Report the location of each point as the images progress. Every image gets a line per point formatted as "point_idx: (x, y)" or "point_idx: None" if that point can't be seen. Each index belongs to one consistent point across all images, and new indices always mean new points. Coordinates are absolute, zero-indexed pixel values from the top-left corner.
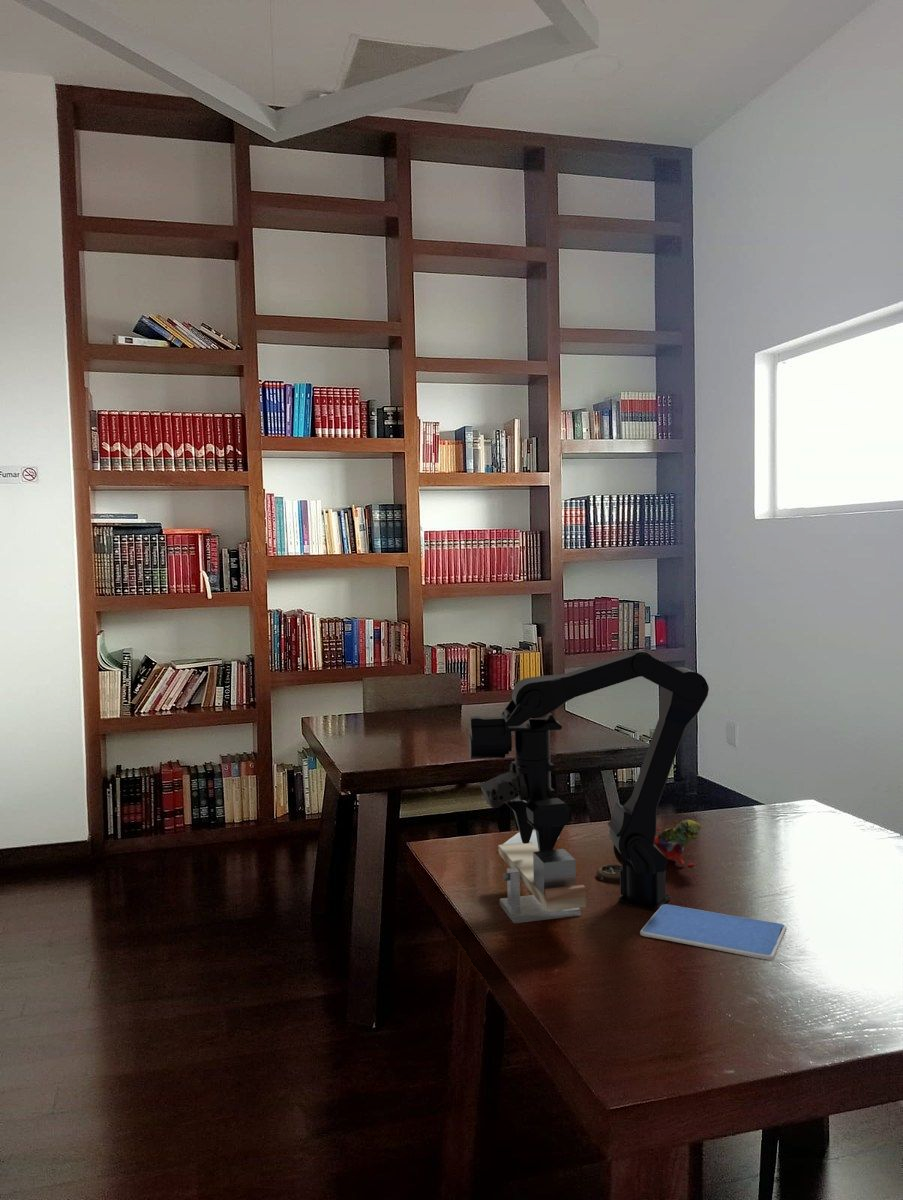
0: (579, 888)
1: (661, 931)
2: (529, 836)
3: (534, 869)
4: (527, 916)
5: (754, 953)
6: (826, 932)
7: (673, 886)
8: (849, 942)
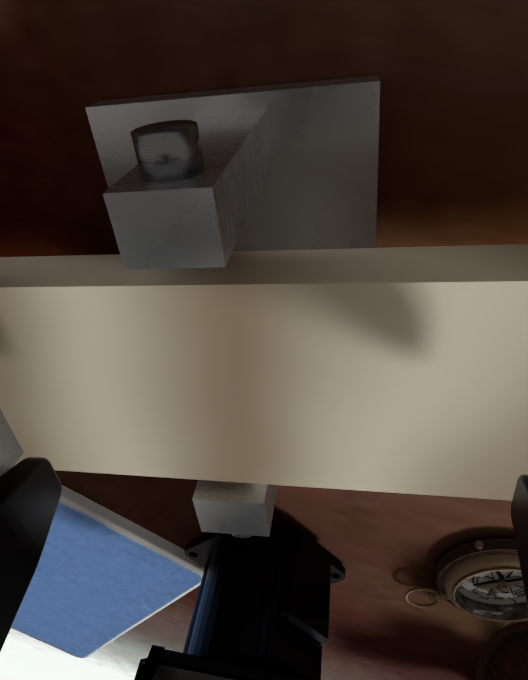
0: None
1: None
2: (523, 571)
3: None
4: (109, 185)
5: None
6: (70, 673)
7: (351, 629)
8: (33, 672)
